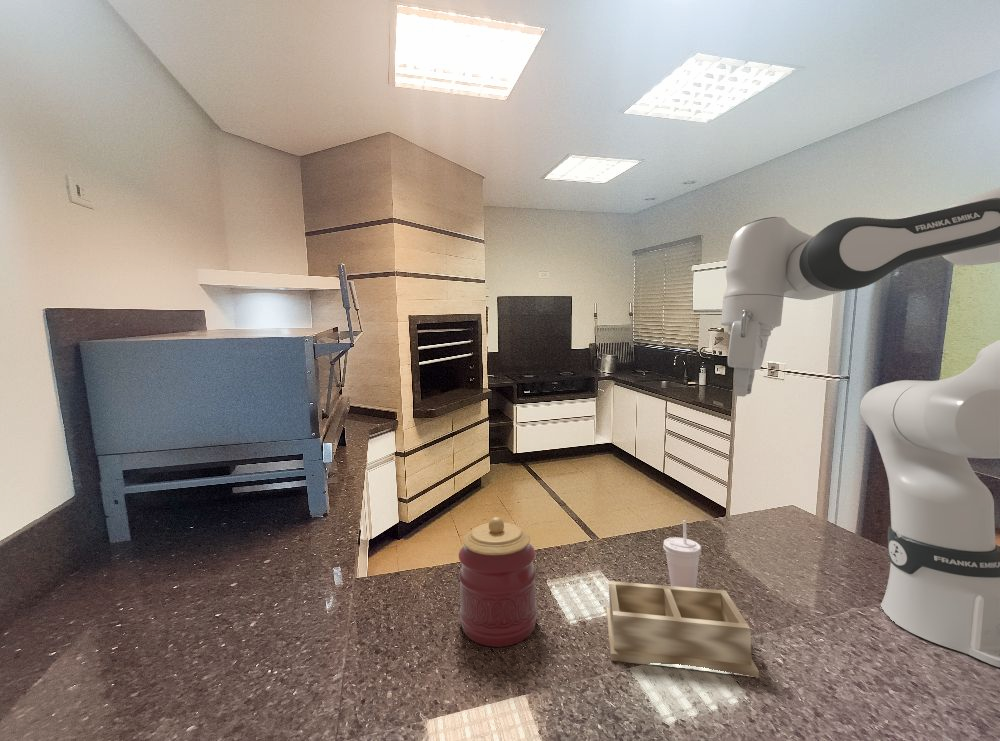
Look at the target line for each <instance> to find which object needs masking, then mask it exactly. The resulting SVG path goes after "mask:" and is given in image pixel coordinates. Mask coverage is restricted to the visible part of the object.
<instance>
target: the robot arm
mask: <svg viewBox="0 0 1000 741" xmlns="http://www.w3.org/2000/svg"><path fill="white" fill-rule="evenodd" d="M728 248H729V249H728V253H727V261H726V269H725V277H726V290H725V292H724V294H723V300H722V308H721V319H720V325H721V326H724V327H728V328H727V329H728V330H727V334H728V335H729V341H728V342H729V343H728V350H727V352H728V353H727V366H728V367H729V368H733V385H734V386H733V395H734V396H735V397H746V396H747V395H750V394H751V393H752V390H753V389H752V388H753V383H754V379H755V374H756V373H755V372H756V371H758V370H760V369H761V367H762V366H763V361H764V359H765V353H766V350H767V346H768V340H769V338H770V337H771V335H772V331H773V330H774V329H775V328H777V327H778V328H779V327H780V326H782V316H783V308H784V297H785V298H789V299H794V300H801V301H802V300H803V301H810V300H817V299H822V298H826V297H828V296H833V295H835V294H838V293H842V292H846V291H851V290H856V289H861V288H865V287H868V286H870V285H873V284H875V283H877V282H878V281H880V280H881V279H883V278H884V277H886V276H887V275H889V274H890V273H891V272H893V271H895V270H897V269H898V268H900V267H902V266H904V265H907V264H912V263H916V262H920V261H926V260H931V259H936V258H939V257H942V258H943V259H945V260H946V261H947V262H949V263H951V264H953V265H957V266H960V267H961V266H962V267H963V266H975V265H976V266H977V265H986V264H994V263H995V264H996V263H1000V187H997V188H993V189H990V190H986V191H984V192H980V193H978V194H975V195H972V196H969V197H967V198H964V199H963V200H960V201H958V202H956V203H954V204H951V205H949V206H947V207H946V208H944V209H939V210H936V211H931V212H927V213H921V214H917V215H912V216H908V217H904V218H903V217H901V218H877V217H868V216H866V217H865V216H864V217H863V216H855V217H846V218H842V219H839V220H837V221H835V222H832V223H830V224H829V225H827V226H826V227H823V229H821V230H820V231H819V232H818V233H816V234H815V235H811V234H808V233H806V232H803V231H801V230H799V229H798V228H796V227H794V226H793V225H792V224H790V222H788V220H787V219H786V218H785V217H782V216H781V217H779V216H778V217H777V216H771V217H764V218H760V219H757V220H753V221H751V222H748V223H746V224H744V225H743V226H741V227H740V228H739V229H738V230H737V231H736V232H735V233H734V234H733V236H732V238H731V242H730V245H729V247H728ZM859 411H860V412H859V413H860V417H861V418H862V420H863V421H864V423H865V424H866V426H867V427H868V428H869V429H870V431H871V432H872V435H873V437H874V440H875V442H876V445H877V447H878V448H877V449H878V450H879V453H880V456H881V459H882V462H883V465H884V469H885V472H886V476H887V480H888V488H889V503H890V525H889V526H888V527H887V549H888V557H889V562H890V565H889V575H888V580H887V586H886V589H885V594H884V597H883V598H882V601H881V602H880V605H881V607H882V609H883V610H884V612H885V613H886V614H887V615H888V616H889V617H890V619H891V620H892V621H891V620H890V619H889V620H890V621H891V622H893V621H894V622H895V623H894V622H893V623H894V624H895V625H897V626H899V627H901V628H902V629H904V630H905V631H907V632H909V633H911V634H913V635H915V636H918V637H920V638H922V639H924V640H926V641H929V642H931V643H933V644H937V645H939V646H942V647H945V648H949V649H951V650H954V651H957V652H960V653H962V654H963V653H964V654H966V655H969V656H971V657H973V658H976V659H977V660H980V661H982V662H984V663H987V664H989V665H991V666H994V667H997V668H1000V545H998V544H996V530H995V529H996V526H995V523H996V522H995V501H994V497H993V494H992V492H991V491H990V489H989V488H988V487H987V485H985V484H984V483H983V482H982V481H981V480H980V478H979V477H978V476H977V474H976V473H975V472H974V469H973V468H972V466H971V463H970V462H969V460H968V458H969V459H988V460H989V459H991V460H992V459H1000V339H998V340H995V341H994V342H992V343H990V344H988V345H986V346H984V347H983V348H981V349H979V352H978V353H977V355H976V358H975V362H974V363H972V365H971V366H969V367H968V368H966V369H965V370H964V371H962V372H960V373H958V374H956V375H953V376H950V377H947V378H943V379H937V380H915V379H914V380H911V379H910V380H909V379H905V380H895V381H892V382H887V383H884V384H881V385H877V386H875V387H873V388H871V389H870V390H869V391H867V392H866V393H865V394H864V396H863V397H862V399H861V401H860V406H859ZM881 607H880V608H881Z"/></svg>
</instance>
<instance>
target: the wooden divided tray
mask: <svg viewBox="0 0 1000 741" xmlns="http://www.w3.org/2000/svg"><path fill="white" fill-rule="evenodd" d="M608 593H609V594H608V595H609V599H608V600H609V603H608V604H609V606H606V610H605V612H606V622H607V630H608V644H609V652H610V660H611V661H613V662H621V663H628V664H629V663H630V664H638V665H644V664H650V663H661V664H679V665H680V664H681V665H688V666H689V665H690V666H696V667H703V668H704V667H705V668H709V669H712V670H713V669H714V670H718V671H719V670H720V671H724V672H725V671H726V672H730V673H731V672H732V673H739V674H743V675H749V676H754V677H759V678H760V671H759V669H758V667H757V665H756V663H755V662H754V660H753V659H752V637H751V636H752V635H751V628H750V626H749V623H748V622H747V621H746V620H745V617H743V615H742V614H741V612H740V610H739V609H738V607H737V605H736V604H735V602H734V601H733V600H732V597H731V596H730V595H729V593H728V592H727V590H726V589H725V590H723V589H713V588H712V589H710V588H698V587H696V588H689V587H677V586H671V585H663V584H651V583H639V582H638V583H637V582H629V581H628V582H626V581H624V582H623V581H617V580H616V581H613V580H608Z"/></svg>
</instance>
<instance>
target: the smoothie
mask: <svg viewBox="0 0 1000 741" xmlns="http://www.w3.org/2000/svg"><path fill="white" fill-rule="evenodd" d="M682 534H683V535H682V536H683V537H676V536H675V537H668V538H665V539H664V540H663V546H662V547H663V549H664V551H665V556H666V561H667V562H666V563H667V567H668V568H667V569H668V575H669V581H670V582H669V583H670V586H677V587H689V588H697V581H698V572H699V571H698V570H699V564H700V563H699V561H700V556H701V555H702V545H701V544H700V543H698V542H696V541H694V540H693V539H689V538H687V537H688V536H687V520H685V519H683V520H682Z"/></svg>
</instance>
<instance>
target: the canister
mask: <svg viewBox="0 0 1000 741" xmlns="http://www.w3.org/2000/svg"><path fill="white" fill-rule="evenodd" d="M530 536H531V535H530V534H529V533H528V532H527V531H526V530H524V529H522V528H521V527H519V526H518V525H516V524H513V523H509V522H504V520H503V518H501V517H499V516H494V517H491V519H490V520H489V522H486V523H482V524H479V525H477V526H475V527H474V528H473V529H472V530H470V531H469V532H467V533H466V534H465V535H464V537H463V538H462V539H463V540H462V542H463V546H461V548H460V550H459V551H458V555H457V556H458V559H459V560H458V561H459V562H460V564H461V568H460V569H459V572H458V579H459V584H460V585H459V586H460V588H459V590H460V591H459V592H460V593H459V594H460V608H459V620H460V623H461V628H462V631H463V633H464V635H465V636H466V637H467V638H468V639H469V640H471V641H473V642H475V643H477V644H480V645H483V646H487V647H496V648H497V647H498V648H499V647H507V646H512V645H514V644H515V645H516V644H518V643H520V642H523V641H524V640H525V639H527V638H528V637H529V636H531V634H532V633H533V632H534V630H535V627H536V623H537V618H538V607H537V603H536V602H537V599H536V597H537V596H536V577H537V570H536V568H535V566H534V564H533V562H534V560H535V558H536V553H537V552H536V549H535V547H534V546H533V545H532V544H531V543H530V542H531V537H530Z"/></svg>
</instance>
